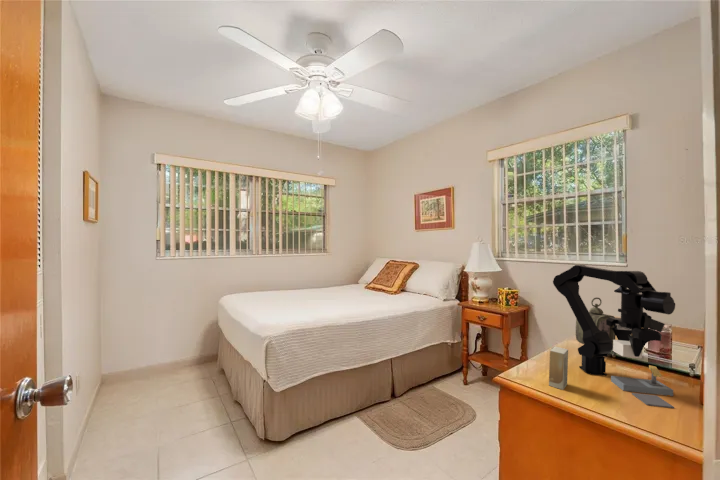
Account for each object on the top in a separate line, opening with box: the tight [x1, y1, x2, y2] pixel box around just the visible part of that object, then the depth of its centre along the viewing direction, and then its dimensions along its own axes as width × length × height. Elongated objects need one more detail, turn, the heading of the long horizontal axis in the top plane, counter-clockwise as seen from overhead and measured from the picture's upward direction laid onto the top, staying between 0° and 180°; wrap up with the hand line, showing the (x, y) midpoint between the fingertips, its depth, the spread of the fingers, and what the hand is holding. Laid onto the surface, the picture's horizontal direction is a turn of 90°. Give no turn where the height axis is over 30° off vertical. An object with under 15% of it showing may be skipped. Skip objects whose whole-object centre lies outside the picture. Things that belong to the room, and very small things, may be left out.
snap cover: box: [612, 339, 643, 359], centre depth 105 cm, size 6×6×4 cm
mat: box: [631, 392, 675, 409], centre depth 96 cm, size 7×7×1 cm
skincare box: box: [548, 346, 569, 390], centre depth 105 cm, size 6×4×12 cm
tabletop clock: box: [575, 297, 616, 345], centre depth 138 cm, size 14×9×25 cm, turn 114°
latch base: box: [610, 375, 674, 397], centre depth 105 cm, size 14×7×2 cm, turn 78°
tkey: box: [648, 364, 662, 384], centre depth 103 cm, size 8×2×5 cm, turn 144°
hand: (630, 353), depth 105 cm, fingers closed on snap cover, 5 cm apart
